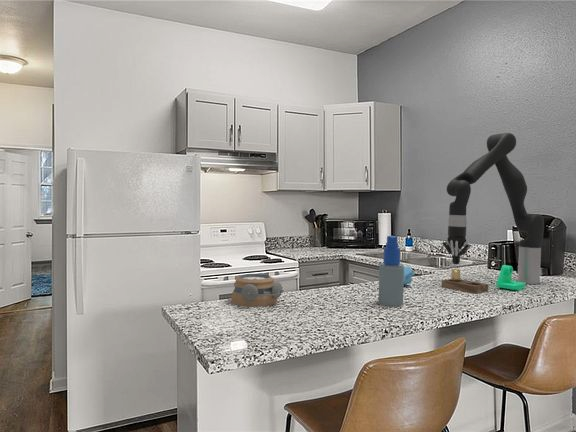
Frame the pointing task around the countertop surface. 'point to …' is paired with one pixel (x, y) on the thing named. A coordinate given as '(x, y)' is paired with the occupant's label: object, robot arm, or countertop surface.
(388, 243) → the spray bottle
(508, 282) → the camera mount
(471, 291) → the jig
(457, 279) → the bushing
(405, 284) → the teapot
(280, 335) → the countertop surface
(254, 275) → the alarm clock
